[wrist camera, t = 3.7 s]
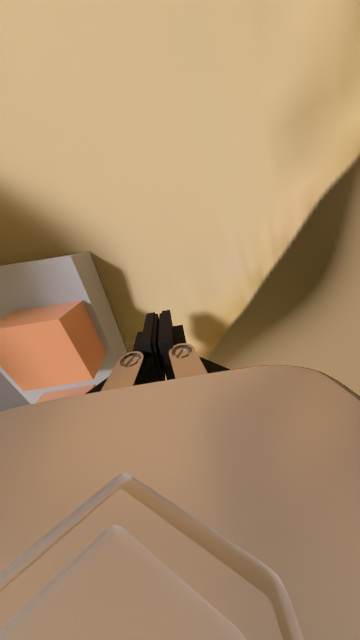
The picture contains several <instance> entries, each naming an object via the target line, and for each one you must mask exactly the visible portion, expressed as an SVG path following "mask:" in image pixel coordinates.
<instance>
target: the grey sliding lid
mask: <svg viewBox="0 0 360 640" xmlns="http://www.w3.org/2000/svg"><path fill="white" fill-rule="evenodd" d="M81 300H83V302H84V305H85V307H86V309H87V311H88V313H89V315H90V318H91V320H92V322H93V324H94V326H95V329H96V331H97V333H98V335H99V337H100V339H101V342H102V344H103V346H104V348H105V350H106V352H107V353H106V355H105V357H104V359H103V361H102V363H101V365H100V368H99V370H98V372H97V374H96V376H95V378H94V380H91V381H85V382H78V383H72V384H66V385H60V386H54V387H48V388H42V389H36V390H30V391H23V390H22V389H21V388H20V387H19V386H18V385H17V384H16V383H15V381H14V380H13V379H12V378H11V377H10V376H9V375H8V374H7V373H6V372H5V370H4V369H3V368H2V367H1V366H0V372H1V373H2V374H3V375H4V376H5V377H6V378H7V380H8V381H9V382H10V383H11V384H12V385H13V386H14V387H15V388H16V389H17V390H18V391H19V392H20V393H21V394H22V396H23V397H24V398H25V399H26V400H27V401H28V402H29V403H30V404H34V403H36V402H37V401H38V399H39V398H40V397H41V395H42V394H43V393H45V392H51V391H57V390H64V389H70V388H76V387H82V386H88V385H95V386H97V385H98V384H99V383H101V382H102V381H103V380H105V379H106V378H108V377H109V375H110V374H111V372H112V370H113V368H114V367H115V365H116V363H117V361H118V360H119V359H120V357H122V356H123V355H125V354H126V353H128V352H127V349H126V347H125V344H124V341H123V339H122V336H121V333H120V331H119V328H118V325H117V323H116V320H115V318H114V315H113V312H112V310H111V307H110V304H109V302H108V299H107V296H106V294H105V291H104V288H103V286H102V283H101V280H100V278H99V275H98V272H97V270H96V267H95V265H94V262H93V259H92V257H91V254H90V252H83V253H77V254H70V255H64V256H58V257H51V258H45V259H39V260H32V261H26V262H19V263H13V264H7V265H0V318H2V317H4V316H6V315H8V314H10V313H12V312H14V311H18V310H25V309H31V308H37V307H43V306H50V305H56V304H62V303H68V302H75V301H81Z"/></svg>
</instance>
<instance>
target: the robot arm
mask: <svg viewBox="0 0 360 640" xmlns="http://www.w3.org/2000/svg"><path fill="white" fill-rule="evenodd" d="M165 374H166V378H167V380H165ZM0 640H360V396H359V395H357V394H356V393H354V392H353V391H352V390H350V389H349V388H348V387H346V386H345V385H343V384H342V383H340V382H339V381H337V380H335V379H334V378H332V377H330V376H328V375H326V374H324V373H322V372H319V371H316V370H313V369H309V368H304V367H297V366H289V365H267V366H255V367H247V368H241V369H233V370H230V369H227V368H225V367H222V366H220V365H218V364H215V363H213V362H211V361H208V360H206V359H204V358H201V357H199V356H198V354H197V352H196V350H195V348H194V347H193V346H192V345H190V344H187V343H186V340H185V335H184V330H183V325H179V326H173V325H172V320H171V314H170V310H167V311H162V313H160V317H158V314H155V313H148V314H147V316H146V320H145V324H144V329H143V332H138V334H137V337H136V341H135V344H134V348H133V351H132V352H129V353H126V354H125V355H123V356H122V357H120V359H119V360H118V361H117V363H116V365H115V367H114V368H113V370H112V372H111V374H110V375H109V377H108V378H106V379H105V380H103V381H102V382H101V383H99V384H98V385H97V386H95V387H94V388H92V389H91V390H90V391H88V392H87V393H85V394H83V395H78V396H72V397H66V398H61V399H55V400H49V401H44V402H39V403H34V404H29V405H24V406H19V407H15V408H12V409H8V410H4V411H1V412H0Z"/></svg>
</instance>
